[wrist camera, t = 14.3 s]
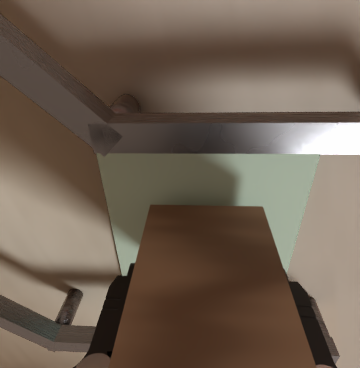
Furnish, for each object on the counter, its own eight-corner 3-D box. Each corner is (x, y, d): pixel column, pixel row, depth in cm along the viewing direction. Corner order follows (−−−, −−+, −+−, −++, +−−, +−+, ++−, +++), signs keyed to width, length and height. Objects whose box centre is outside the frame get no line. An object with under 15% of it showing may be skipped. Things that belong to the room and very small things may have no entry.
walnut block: (262, 206, 12) (348, 464, 5) (249, 280, 14) (294, 513, 8) (150, 204, 12) (88, 444, 5) (157, 277, 15) (123, 499, 8)
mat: (324, 128, 11) (326, 131, 11) (279, 291, 17) (280, 296, 17) (93, 129, 12) (91, 131, 12) (126, 286, 18) (125, 290, 18)
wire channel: (550, -278, 6) (885, -558, 3) (312, 308, 18) (335, 366, 15) (-601, -174, 8) (-1060, -282, 5) (-129, 291, 20) (-186, 339, 17)
